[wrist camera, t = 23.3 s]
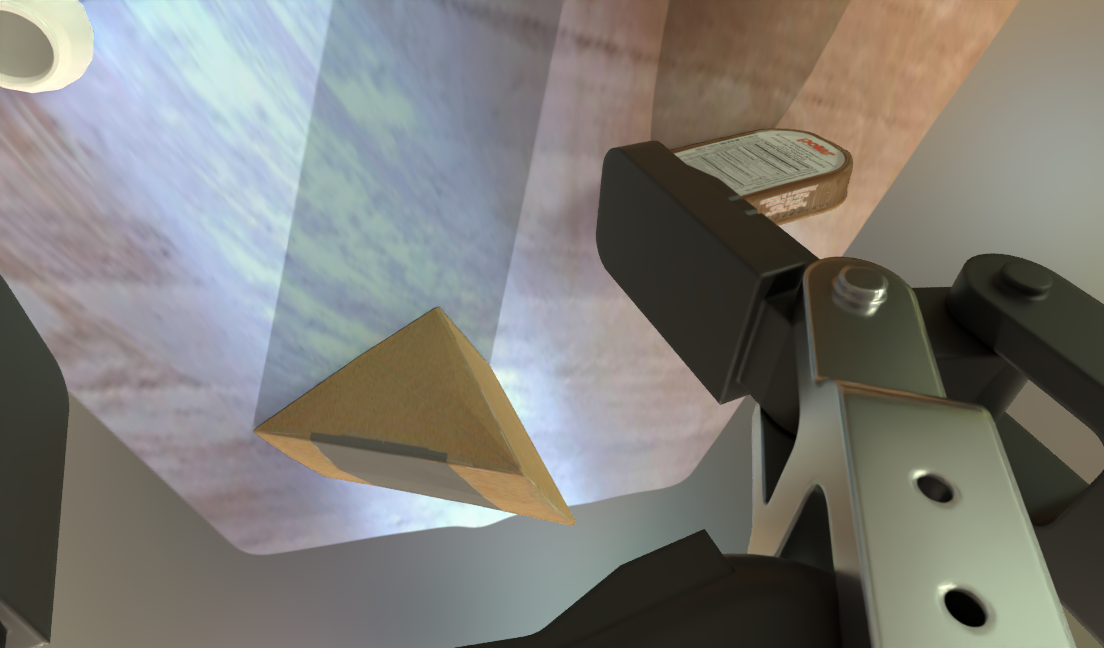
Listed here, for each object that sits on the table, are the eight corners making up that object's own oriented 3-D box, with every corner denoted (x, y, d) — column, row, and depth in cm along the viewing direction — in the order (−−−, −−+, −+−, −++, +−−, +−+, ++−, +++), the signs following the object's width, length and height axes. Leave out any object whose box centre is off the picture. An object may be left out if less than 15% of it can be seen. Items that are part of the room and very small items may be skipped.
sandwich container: (247, 430, 45) (281, 636, 35) (436, 302, 45) (524, 472, 35) (326, 479, 51) (374, 665, 42) (491, 367, 52) (579, 526, 42)
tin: (614, 194, 46) (682, 262, 40) (617, 153, 44) (689, 218, 38) (789, 150, 51) (871, 206, 45) (799, 110, 49) (887, 164, 43)
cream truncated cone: (116, 12, 28) (-32, -79, 24) (115, 35, 26) (-46, -60, 22) (59, 107, 29) (-91, 33, 26) (54, 136, 27) (-108, 61, 24)
